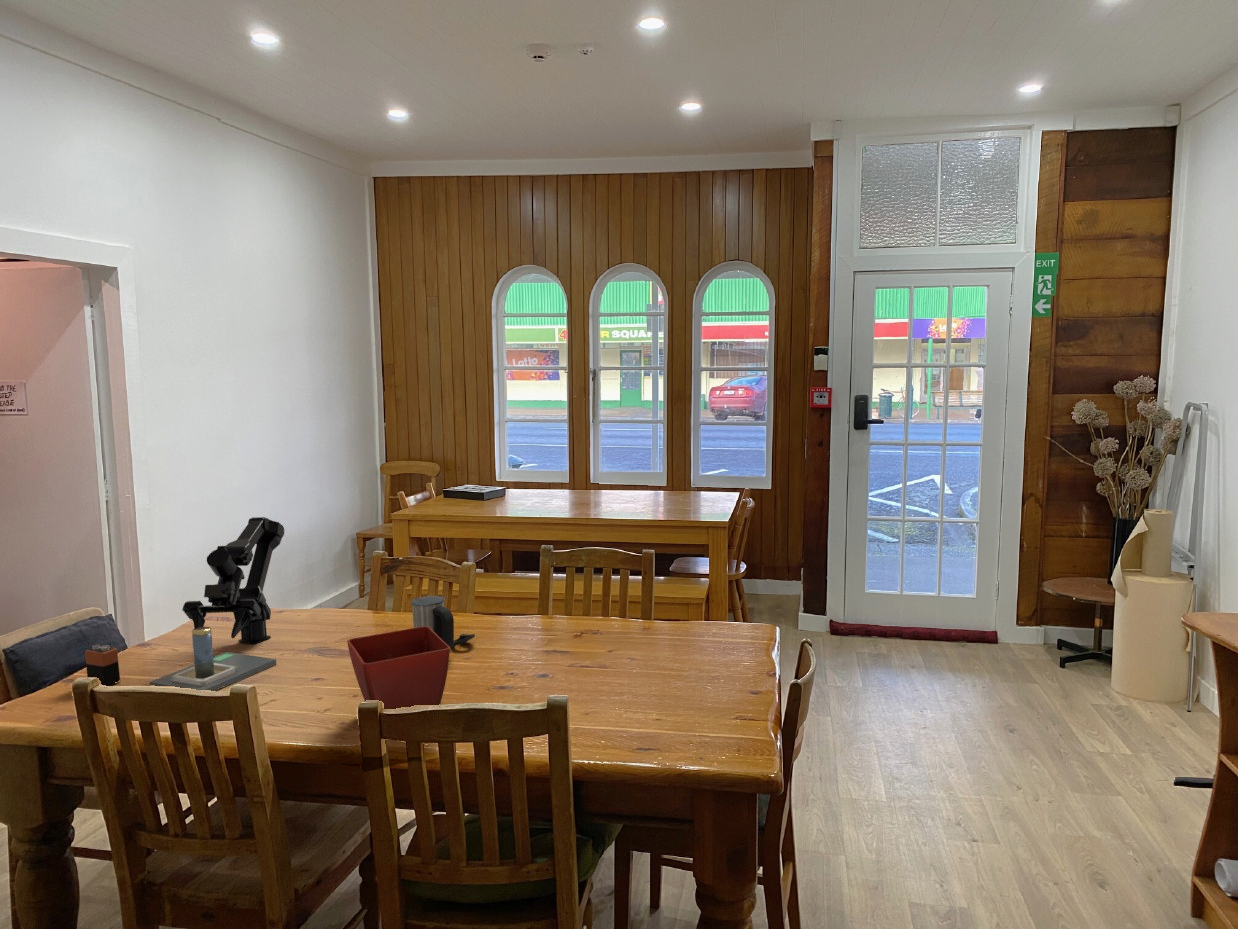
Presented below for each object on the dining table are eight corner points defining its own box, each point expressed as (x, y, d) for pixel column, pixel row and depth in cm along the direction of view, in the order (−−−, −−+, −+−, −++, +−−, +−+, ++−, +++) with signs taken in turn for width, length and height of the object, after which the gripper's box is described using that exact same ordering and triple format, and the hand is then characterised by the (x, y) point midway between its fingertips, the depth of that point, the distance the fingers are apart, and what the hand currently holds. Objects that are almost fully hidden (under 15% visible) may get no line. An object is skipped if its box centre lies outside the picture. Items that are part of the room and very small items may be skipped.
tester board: (226, 657, 241) (225, 647, 240) (276, 664, 234) (275, 654, 233) (149, 687, 219) (149, 677, 219) (202, 697, 212) (201, 686, 211)
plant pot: (367, 739, 186) (362, 663, 184) (350, 709, 202) (346, 638, 200) (454, 720, 194) (451, 647, 192) (431, 692, 211) (428, 625, 209)
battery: (105, 688, 219) (101, 650, 218) (87, 685, 222) (83, 647, 221) (121, 682, 223) (117, 644, 222) (103, 679, 226) (99, 642, 225)
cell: (216, 671, 225) (212, 626, 223) (212, 677, 220) (208, 631, 219) (198, 673, 224) (194, 627, 222) (193, 679, 219) (189, 632, 218)
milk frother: (406, 655, 239) (403, 602, 237) (439, 638, 253) (436, 588, 251) (450, 661, 233) (448, 607, 232) (481, 642, 248) (479, 592, 246)
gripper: (182, 572, 231) (166, 625, 222) (253, 569, 232) (240, 622, 222) (198, 592, 240) (183, 644, 230) (266, 590, 240) (254, 642, 231)
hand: (214, 638), depth 228 cm, fingers open, 9 cm apart
